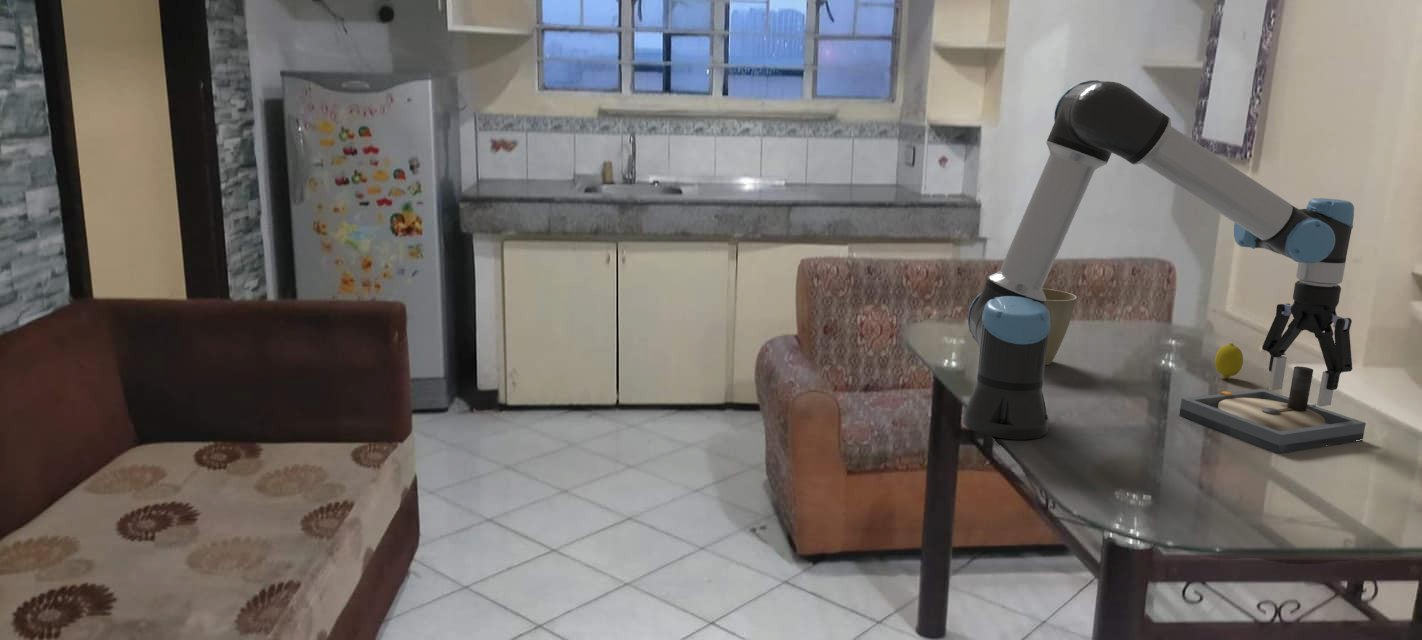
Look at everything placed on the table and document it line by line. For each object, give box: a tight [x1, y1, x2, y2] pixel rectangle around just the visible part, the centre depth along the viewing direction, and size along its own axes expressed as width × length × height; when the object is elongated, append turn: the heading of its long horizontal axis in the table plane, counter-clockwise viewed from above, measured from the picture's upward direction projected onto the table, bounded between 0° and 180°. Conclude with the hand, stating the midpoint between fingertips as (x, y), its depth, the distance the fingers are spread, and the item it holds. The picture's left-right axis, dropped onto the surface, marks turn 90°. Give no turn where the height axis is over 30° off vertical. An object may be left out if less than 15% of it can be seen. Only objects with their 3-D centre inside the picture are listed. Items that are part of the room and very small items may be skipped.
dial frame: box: [1178, 388, 1367, 455], centre depth 198 cm, size 22×22×4 cm
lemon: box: [1214, 343, 1244, 379], centre depth 231 cm, size 6×6×8 cm
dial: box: [1218, 365, 1325, 431], centre depth 197 cm, size 18×18×10 cm
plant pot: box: [1043, 287, 1078, 366], centre depth 238 cm, size 15×15×16 cm
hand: (1298, 397), depth 200 cm, fingers open, 10 cm apart
